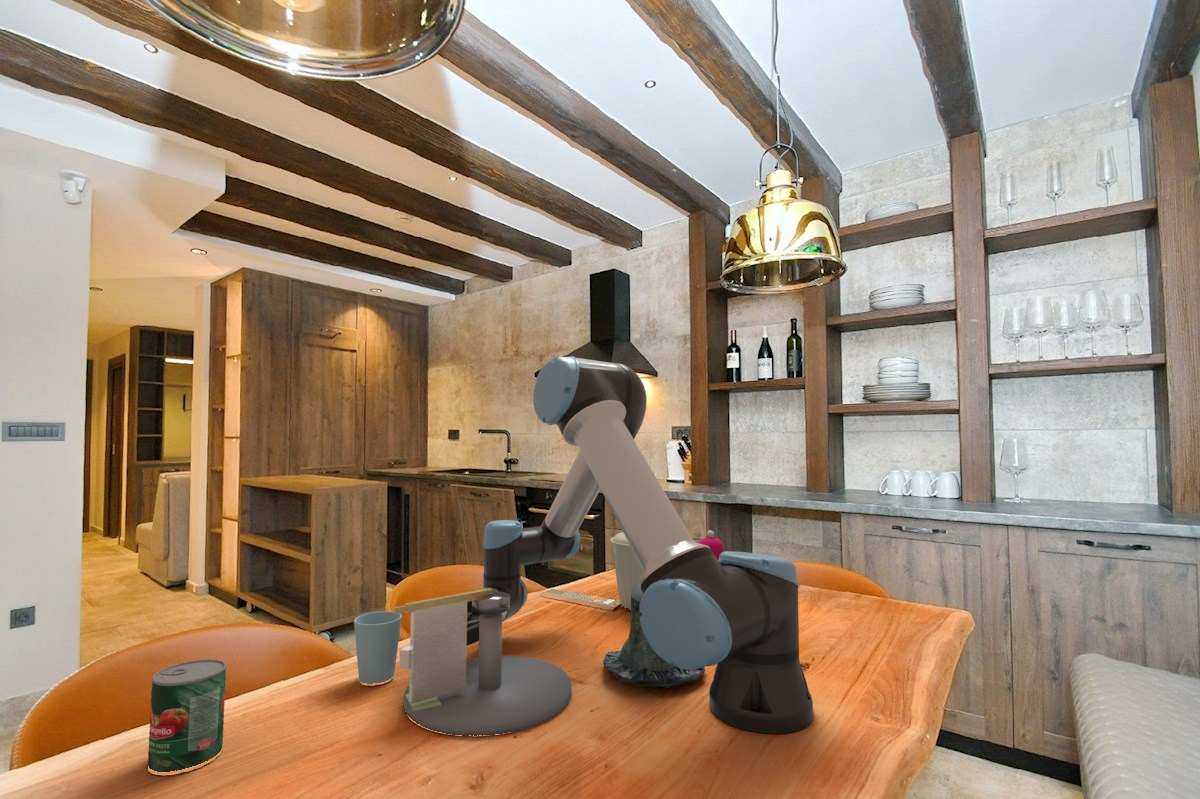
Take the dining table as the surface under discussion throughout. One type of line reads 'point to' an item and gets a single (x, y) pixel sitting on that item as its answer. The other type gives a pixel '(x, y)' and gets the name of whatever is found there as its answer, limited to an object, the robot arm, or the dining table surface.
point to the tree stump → (644, 658)
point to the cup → (377, 645)
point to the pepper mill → (713, 544)
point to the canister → (625, 568)
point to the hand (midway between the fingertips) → (404, 659)
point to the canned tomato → (186, 714)
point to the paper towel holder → (495, 691)
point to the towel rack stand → (444, 640)
